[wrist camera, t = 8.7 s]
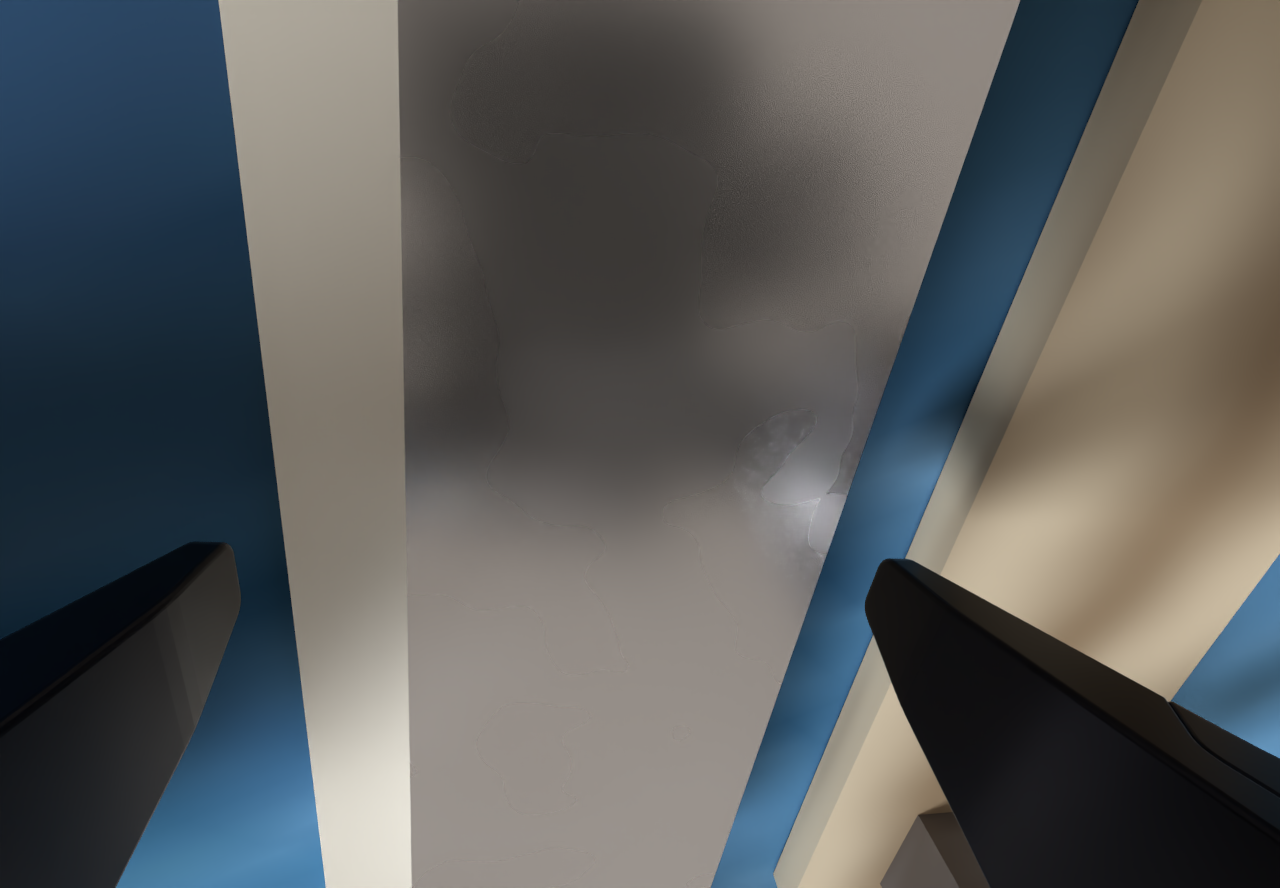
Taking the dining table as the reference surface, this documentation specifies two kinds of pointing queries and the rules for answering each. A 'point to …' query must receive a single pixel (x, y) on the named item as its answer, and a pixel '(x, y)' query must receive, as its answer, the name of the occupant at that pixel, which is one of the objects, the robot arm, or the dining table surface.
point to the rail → (643, 391)
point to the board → (334, 391)
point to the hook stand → (1102, 426)
